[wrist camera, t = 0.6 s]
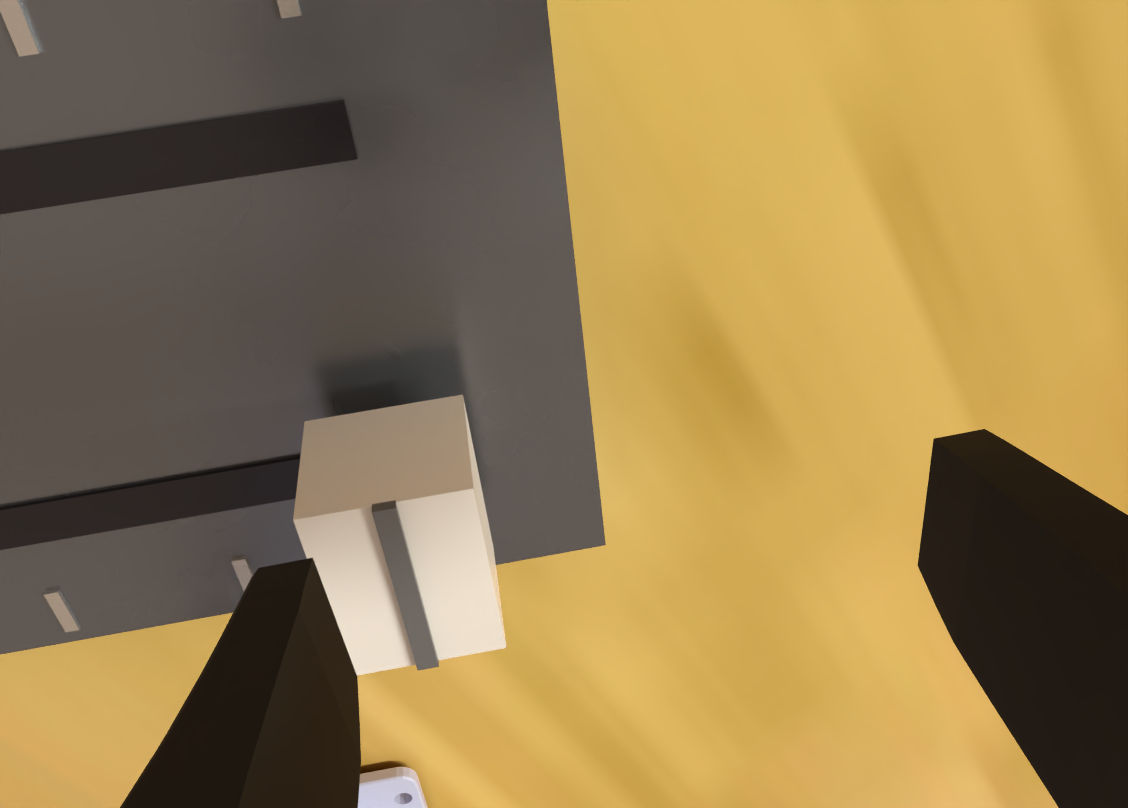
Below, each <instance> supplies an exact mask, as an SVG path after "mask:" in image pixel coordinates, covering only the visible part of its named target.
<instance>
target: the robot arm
mask: <svg viewBox="0 0 1128 808" xmlns="http://www.w3.org/2000/svg"><path fill="white" fill-rule="evenodd" d="M918 567H919V569H920V572H921V574H922V576H923V578H924V580H925V583H926V585H927V587H928V589H929V592H930V594H931V596H932V598H933V600H934V603H935V605H936V607H937V609H938V611H939V613H940V615H941V617H942V619H943V621H944V624H945V626H946V628H947V630H948V632H949V634H950V636H951V638H952V640H953V642H954V644H955V645H956V647H957V648H958V650H959V652H960V653H961V655H962V657H963V658H964V660H965V661H966V663H967V665H968V666H969V668H970V669H971V671H972V673H973V674H974V676H975V677H976V679H977V680H978V682H979V684H980V685H981V687H982V688H983V690H984V692H985V693H986V695H987V696H988V698H989V700H990V701H991V703H992V704H993V706H994V707H995V709H996V710H997V712H998V714H999V715H1000V717H1001V718H1002V720H1003V721H1004V723H1005V724H1006V726H1007V728H1008V729H1009V731H1010V732H1011V734H1012V735H1013V737H1014V738H1015V740H1016V742H1017V743H1018V745H1019V746H1020V748H1021V749H1022V751H1023V753H1024V754H1025V756H1026V757H1027V759H1028V760H1029V762H1030V763H1031V765H1032V767H1033V768H1034V770H1035V771H1036V773H1037V774H1038V776H1039V777H1040V779H1041V781H1042V782H1043V784H1044V785H1045V787H1046V788H1047V790H1048V791H1049V793H1050V795H1051V796H1052V798H1053V799H1054V801H1055V802H1056V804H1057V806H1058V807H1059V808H1128V515H1127V514H1125V513H1123V512H1122V511H1120V510H1118V509H1117V508H1115V507H1113V506H1112V505H1110V504H1108V503H1107V502H1105V501H1103V500H1102V499H1100V498H1098V497H1097V496H1095V495H1093V494H1092V493H1090V492H1088V491H1087V490H1085V489H1083V488H1082V487H1080V486H1079V485H1077V484H1075V483H1074V482H1072V481H1070V480H1069V479H1067V478H1065V477H1064V476H1062V475H1061V474H1059V473H1057V472H1056V471H1054V470H1052V469H1051V468H1049V467H1048V466H1046V465H1044V464H1043V463H1041V462H1039V461H1038V460H1036V459H1035V458H1033V457H1031V456H1030V455H1028V454H1026V453H1025V452H1023V451H1021V450H1020V449H1018V448H1016V447H1015V446H1013V445H1011V444H1010V443H1008V442H1006V441H1005V440H1003V439H1001V438H1000V437H998V436H996V435H994V434H993V433H991V432H989V431H987V430H985V429H982V430H977V431H972V432H967V433H962V434H956V435H951V436H946V437H941V438H935V439H934V441H933V449H932V457H931V465H930V473H929V481H928V488H927V496H926V504H925V512H924V520H923V528H922V536H921V544H920V552H919V560H918ZM360 767H361V751H360V722H359V703H358V683H357V675H356V672H355V669H354V667H353V664H352V661H351V659H350V656H349V653H348V651H347V648H346V645H345V643H344V640H343V637H342V634H341V632H340V629H339V626H338V624H337V621H336V618H335V616H334V613H333V610H332V608H331V605H330V602H329V600H328V597H327V594H326V592H325V589H324V586H323V584H322V581H321V578H320V576H319V573H318V570H317V568H316V565H315V562H314V560H313V558H308V559H302V560H297V561H292V562H287V563H282V564H276V565H271V566H266V567H261V568H258V569H257V571H256V572H255V573H254V575H253V576H252V577H251V579H250V581H249V583H248V585H247V587H246V589H245V591H244V593H243V595H242V597H241V599H240V601H239V603H238V605H237V607H236V609H235V611H234V613H233V614H232V616H231V618H230V620H229V622H228V624H227V626H226V628H225V630H224V632H223V634H222V636H221V638H220V639H219V641H218V643H217V645H216V647H215V649H214V651H213V653H212V654H211V656H210V658H209V660H208V662H207V664H206V666H205V667H204V669H203V671H202V673H201V675H200V677H199V678H198V680H197V682H196V684H195V685H194V687H193V689H192V691H191V692H190V694H189V696H188V697H187V699H186V701H185V703H184V704H183V706H182V708H181V710H180V711H179V713H178V715H177V717H176V718H175V720H174V722H173V724H172V725H171V727H170V729H169V731H168V732H167V734H166V736H165V737H164V739H163V741H162V742H161V744H160V746H159V747H158V749H157V751H156V752H155V754H154V755H153V757H152V758H151V760H150V762H149V763H148V765H147V766H146V768H145V769H144V771H143V772H142V774H141V776H140V777H139V779H138V780H137V782H136V783H135V785H134V787H133V788H132V790H131V791H130V793H129V794H128V796H127V798H126V799H125V801H124V802H123V804H122V805H121V807H120V808H428V807H427V804H426V801H425V798H424V795H423V791H422V788H421V785H420V782H419V779H418V776H417V774H416V772H415V771H414V770H412V769H410V768H408V767H394V768H388V769H383V770H378V771H373V772H368V773H362V774H360Z"/></svg>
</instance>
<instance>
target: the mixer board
mask: <svg viewBox="0 0 1128 808" xmlns="http://www.w3.org/2000/svg"><path fill="white" fill-rule="evenodd" d="M457 395H463V398H464V403H465V408H466V413H467V418H468V423H469V428H470V433H471V438H472V443H473V448H474V453H475V458H476V463H477V468H478V473H479V478H480V483H481V488H482V493H483V498H484V503H485V508H486V513H487V518H488V523H489V528H490V533H491V538H492V543H493V548H494V556H495V564H496V565H498V564H503V563H509V562H514V561H520V560H525V559H531V558H537V557H542V556H548V555H553V554H559V553H564V552H570V551H575V550H581V549H586V548H592V547H597V546H603V545H605V536H604V526H603V517H602V508H601V499H600V490H599V480H598V471H597V462H596V453H595V443H594V434H593V425H592V416H591V406H590V397H589V388H588V379H587V370H586V360H585V351H584V342H583V333H582V323H581V314H580V305H579V296H578V286H577V277H576V268H575V259H574V250H573V240H572V231H571V222H570V213H569V203H568V194H567V185H566V176H565V166H564V157H563V148H562V139H561V130H560V120H559V111H558V102H557V93H556V83H555V74H554V65H553V56H552V46H551V37H550V28H549V19H548V10H547V0H0V654H5V653H11V652H16V651H22V650H27V649H33V648H38V647H44V646H50V645H55V644H61V643H66V642H72V641H77V640H83V639H88V638H94V637H99V636H105V635H110V634H116V633H121V632H127V631H133V630H138V629H144V628H149V627H155V626H160V625H166V624H171V623H177V622H182V621H188V620H193V619H199V618H204V617H210V616H216V615H221V614H227V613H232V612H234V611H235V609H236V607H237V605H238V603H239V601H240V599H241V597H242V595H243V593H244V591H245V589H246V587H247V585H248V583H249V581H250V579H251V577H252V576H253V575H254V573H255V572H256V571H257V569H258V568H261V567H266V566H271V565H276V564H282V563H287V562H292V561H297V560H302V559H307V558H306V555H305V552H304V549H303V546H302V544H301V541H300V538H299V535H298V532H297V530H296V527H295V524H294V521H293V517H294V508H295V500H296V491H297V482H298V474H299V465H300V456H301V448H302V439H303V430H304V422H305V421H310V420H315V419H321V418H327V417H333V416H339V415H345V414H351V413H357V412H362V411H368V410H374V409H380V408H386V407H392V406H398V405H404V404H410V403H415V402H421V401H427V400H433V399H439V398H445V397H451V396H457Z"/></svg>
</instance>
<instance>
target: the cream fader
mask: <svg viewBox="0 0 1128 808" xmlns="http://www.w3.org/2000/svg"><path fill="white" fill-rule="evenodd" d="M293 521H294V524H295V527H296V530H297V532H298V535H299V538H300V541H301V544H302V546H303V549H304V552H305V555H306V558H307V559H308V558H313V560H314V562H315V565H316V568H317V570H318V573H319V576H320V578H321V581H322V584H323V586H324V589H325V592H326V594H327V597H328V600H329V602H330V605H331V608H332V610H333V613H334V616H335V618H336V621H337V624H338V626H339V629H340V632H341V634H342V637H343V640H344V643H345V645H346V648H347V651H348V653H349V656H350V659H351V661H352V664H353V667H354V669H355V672H356V675H362V674H368V673H373V672H378V671H384V670H389V669H395V668H400V667H405V666H411V665H416V666H417V669H418V670H423V669H428V668H434V667H439V660H443V659H448V658H454V657H459V656H465V655H470V654H475V653H481V652H486V651H491V650H497V649H502V648H506V641H505V633H504V625H503V618H502V610H501V602H500V594H499V587H498V579H497V571H496V564H495V556H494V548H493V543H492V538H491V533H490V528H489V523H488V518H487V513H486V508H485V503H484V498H483V493H482V488H481V483H480V478H479V473H478V468H477V463H476V458H475V453H474V448H473V443H472V438H471V433H470V428H469V423H468V418H467V413H466V408H465V403H464V398H463V395H457V396H451V397H445V398H439V399H433V400H427V401H421V402H415V403H410V404H404V405H398V406H392V407H386V408H380V409H374V410H368V411H362V412H357V413H351V414H345V415H339V416H333V417H327V418H321V419H315V420H310V421H305V422H304V430H303V439H302V448H301V456H300V465H299V474H298V482H297V491H296V500H295V508H294V517H293Z"/></svg>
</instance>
